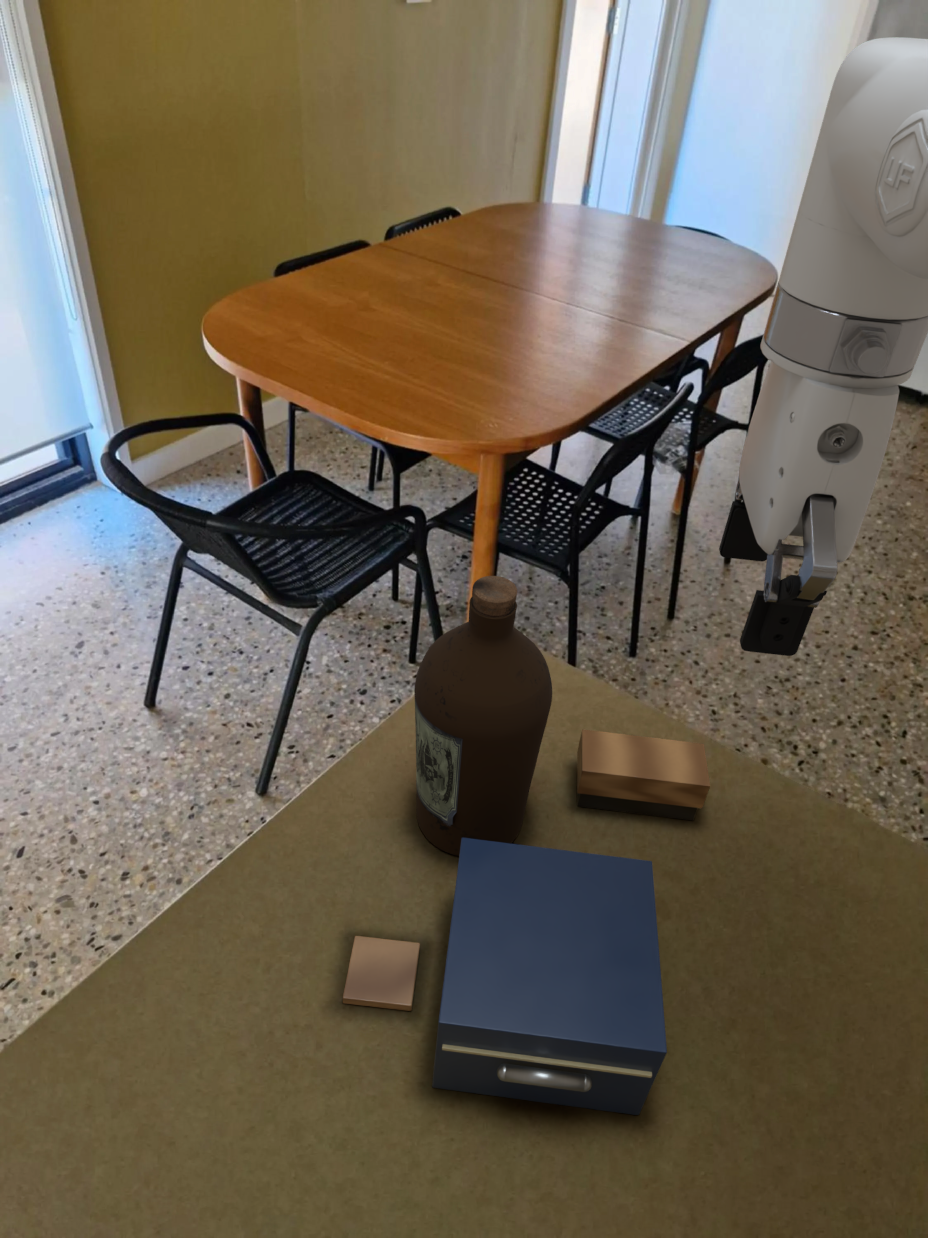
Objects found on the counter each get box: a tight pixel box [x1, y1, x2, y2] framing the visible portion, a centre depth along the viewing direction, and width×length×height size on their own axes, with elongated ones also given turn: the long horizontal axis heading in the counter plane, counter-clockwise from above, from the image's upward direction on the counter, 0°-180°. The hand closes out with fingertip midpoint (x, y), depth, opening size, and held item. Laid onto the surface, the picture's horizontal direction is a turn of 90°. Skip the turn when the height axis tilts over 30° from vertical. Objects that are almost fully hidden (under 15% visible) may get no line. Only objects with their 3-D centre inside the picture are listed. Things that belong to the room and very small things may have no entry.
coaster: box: [342, 935, 421, 1012], centre depth 66 cm, size 5×5×1 cm
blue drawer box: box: [431, 838, 668, 1116], centre depth 62 cm, size 15×14×9 cm
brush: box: [576, 728, 711, 821], centre depth 80 cm, size 11×5×5 cm, turn 84°
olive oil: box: [413, 575, 553, 857], centre depth 70 cm, size 11×11×25 cm
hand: (753, 600), depth 55 cm, fingers open, 9 cm apart
